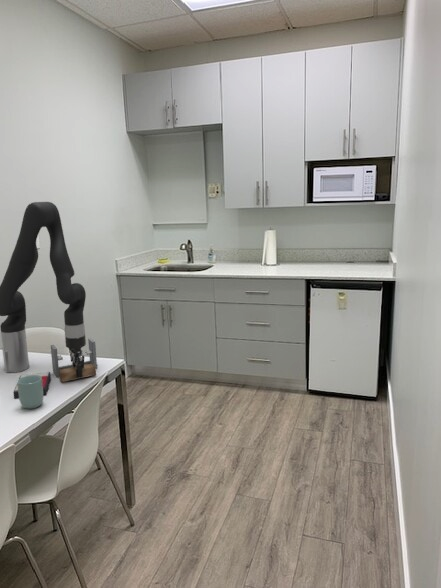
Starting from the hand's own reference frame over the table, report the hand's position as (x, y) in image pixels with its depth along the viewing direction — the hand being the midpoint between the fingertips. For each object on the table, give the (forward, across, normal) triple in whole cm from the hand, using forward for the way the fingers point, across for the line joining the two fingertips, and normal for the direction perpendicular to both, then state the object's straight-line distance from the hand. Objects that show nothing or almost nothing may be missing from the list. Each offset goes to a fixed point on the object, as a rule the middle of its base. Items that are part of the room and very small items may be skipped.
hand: (78, 375), depth 175 cm
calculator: (+2, 0, -17) cm, 17 cm away
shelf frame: (+2, -9, +1) cm, 9 cm away
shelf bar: (+1, 0, 0) cm, 1 cm away
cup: (+2, +15, -20) cm, 25 cm away
